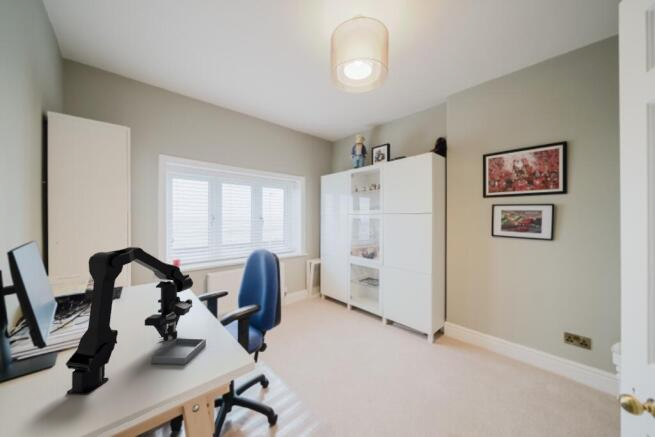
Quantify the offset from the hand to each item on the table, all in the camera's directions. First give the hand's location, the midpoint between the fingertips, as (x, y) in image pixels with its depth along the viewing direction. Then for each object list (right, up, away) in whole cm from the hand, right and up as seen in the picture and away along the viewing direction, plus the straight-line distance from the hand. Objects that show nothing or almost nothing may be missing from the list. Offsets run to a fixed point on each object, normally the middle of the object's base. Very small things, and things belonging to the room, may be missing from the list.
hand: (168, 333), depth 98 cm
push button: (0, -3, 0) cm, 3 cm away
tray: (+12, -3, -10) cm, 16 cm away
